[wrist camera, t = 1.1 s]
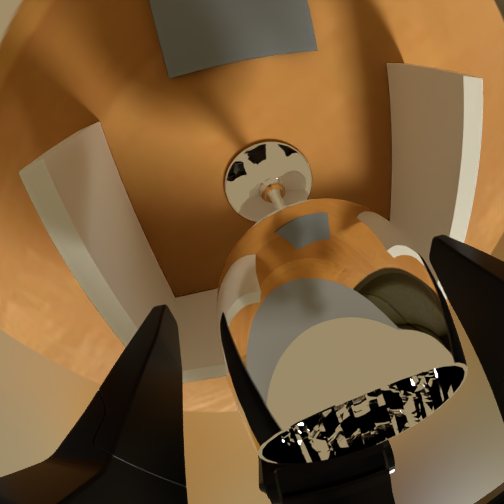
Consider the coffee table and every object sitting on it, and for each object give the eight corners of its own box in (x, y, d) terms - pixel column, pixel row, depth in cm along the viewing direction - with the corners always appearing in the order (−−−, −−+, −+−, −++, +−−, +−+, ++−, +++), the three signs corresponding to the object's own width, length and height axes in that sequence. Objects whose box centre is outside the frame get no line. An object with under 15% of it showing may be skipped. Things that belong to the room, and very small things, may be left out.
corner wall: (400, 255, 19) (441, 312, 14) (165, 313, 19) (159, 385, 14) (405, 63, 11) (482, 78, 7) (78, 130, 11) (18, 172, 7)
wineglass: (186, 182, 14) (161, 452, 4) (278, 103, 12) (491, 276, 3) (261, 250, 17) (317, 471, 7) (343, 188, 15) (486, 382, 5)
